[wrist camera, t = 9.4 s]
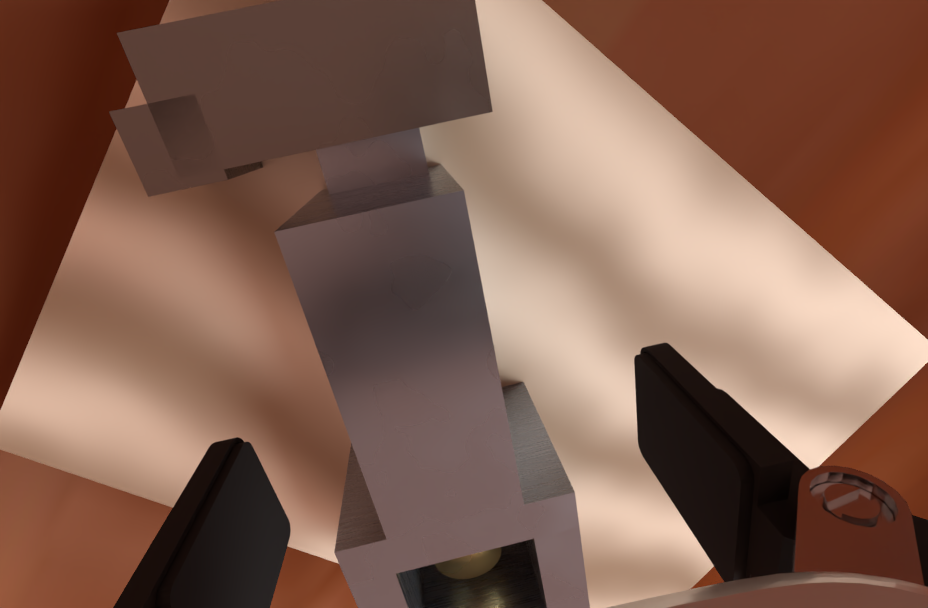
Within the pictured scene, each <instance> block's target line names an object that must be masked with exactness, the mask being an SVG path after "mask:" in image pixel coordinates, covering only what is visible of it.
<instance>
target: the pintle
mask: <svg viewBox="0 0 928 608" xmlns="http://www.w3.org/2000/svg"><path fill="white" fill-rule="evenodd" d="M500 556H501V547H499V548H495V549H491V550H487V551H483V552H479V553H475V554H471V555H467V556H463V557H459V558H455V559H451V560H448V561H444V562H440V563H436V564H435V566H436V568H437V569H438V570H439V571H440V572H441V573H442V574H444V575H446V576H448V577H451V578H455V579H470V578H474V577H478V576H480V575H482V574H484V573H486V572H488V571H489V570H491V569H492V568H493V567H494V566H495V565H496V563H497V562H498V560H499V558H500Z"/></svg>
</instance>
